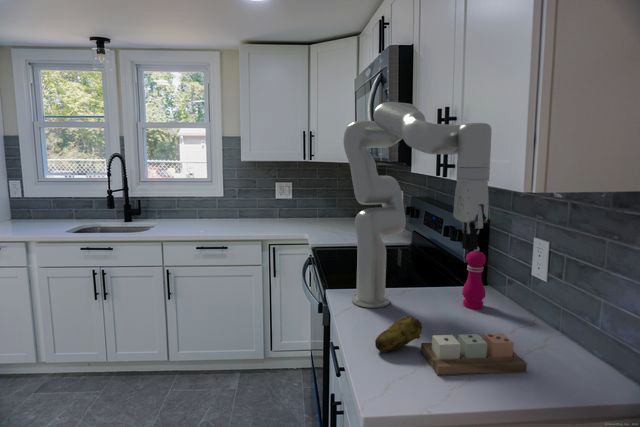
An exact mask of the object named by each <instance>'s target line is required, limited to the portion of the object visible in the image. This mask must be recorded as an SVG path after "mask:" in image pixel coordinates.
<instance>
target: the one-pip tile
mask: <svg viewBox="0 0 640 427" xmlns="http://www.w3.org/2000/svg"><path fill="white" fill-rule="evenodd" d="M431 338H432V339H431V342H432V352H433V353H434V355H435V356H436V357H437V359H438V360H444V359H460V346H461V344H460V343H459V342H458V339H456V337H455V336H454V335H453V334H441V335H440V334H439V335H438V334H437V335H435V334H434V335H432V337H431Z"/></svg>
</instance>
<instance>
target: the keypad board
mask: <svg viewBox="0 0 640 427" xmlns="http://www.w3.org/2000/svg"><path fill="white" fill-rule="evenodd" d="M420 352H421V354H422V355H423V356H424V358H425V359H426V360H427V362H428V364H429V365H430V367H431V368H432V369H433V371H434V372H435V374H436V375H437V376H439V377H440V376H441V377H442V376H462V375H463V376H464V375H466V376H467V375H487V374H488V375H489V374H513V373H517V374H519V373H527V368H528V366H527V365H528V363H527V362H526V361H525V360H524V359H523V358H522V357H520V356H519V355H518V354H517V353H516V352H514V351H513V357H502V358H491V357H490V356H489V355H488V354H487V355H486V358H473V359H465V358H464V357H463V356H462V355H461V354H460V359H444V360H438V359H437V357H436V356H435V355H434V353H433V352H432V341H431V342H421V343H420Z"/></svg>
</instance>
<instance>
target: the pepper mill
mask: <svg viewBox="0 0 640 427" xmlns="http://www.w3.org/2000/svg"><path fill="white" fill-rule="evenodd" d="M465 258H466V259H465V260H466V262H467V268H466V270H467V272H468V276H467V279H466V282H465V283H464V285H463V288H462V291H461V294H462V296H463V297H464V298H463V299H462V305H463V307H465V308H468V309H470V310H481V309H483V308H484V301H483V300H484V299H485V298H486V288H485V286H484V283H483V281H482V275H483V271H484V265H485V264H486V262H487V261H486V260H487V258H486V255H485V254H484V253H483V252H482V251H480V247H479V246H477V249H476V250H470V252H468V253H467V254H466V256H465Z"/></svg>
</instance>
